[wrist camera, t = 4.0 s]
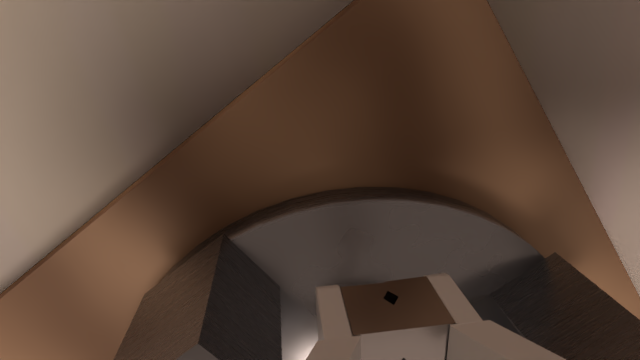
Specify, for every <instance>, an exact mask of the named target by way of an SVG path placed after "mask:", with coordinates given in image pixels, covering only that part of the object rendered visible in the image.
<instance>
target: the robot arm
mask: <svg viewBox="0 0 640 360" xmlns="http://www.w3.org/2000/svg"><path fill="white" fill-rule="evenodd" d="M315 294H316V313H317V330H318V341H317V342H316V344H315V346H314V347H313V349H312V350H311V352H310V354H309V355H308V357H307V358H306V360H566V359H564V358H562V357H560V356H559V355H557V354H555V353H553V352H551V351H549V350H547V349H545V348H543V347H541V346H539V345H537V344H535V343H533V342H531V341H529V340H527V339H526V338H524V337H522V336H520V335H518V334H516V333H514V332H512V331H510V330H508V329H506V328H504V327H502V326H500V325H498V324H496V323H495V322H493V321H491V320H486V321H483V320H482V319H481V317H480V316H479V315H478V313H477V312H476V311H475V309H474V308H473V307H472V305H471V304H470V303H469V301H468V300H467V298H466V297H465V296H464V294H463V293H462V292H461V290H460V289H459V288H458V286H457V285H456V284H455V282H454V281H453V280H452V278H451V277H450V275H448V274H447V273H439V274H432V275H424V276H423V277H414V278H405V279H396V280H387V281H373V282H361V283H350V284H339V285H329V286H319V287H316V291H315Z"/></svg>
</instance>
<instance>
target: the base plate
mask: <svg viewBox="0 0 640 360" xmlns="http://www.w3.org/2000/svg"><path fill="white" fill-rule="evenodd" d="M354 187H399V188H406V189H413V190H420V191H427V192H432V193H435V194H439V195H442V196H446V197H449V198H453V199H456V200H460V201H462V202H465V203H467V204H469V205H471V206H474V207H476V208H478V209H480V210H482V211H485V212H487V213H489V214H490V215H492V216H493V217H495V218H496V219H498V220H499V221H501V222H502V223H504V224H505V225H507V226H509V227H510V228H511V229H513V230H514V231H515V232H516V233H517V234H518V235H520V236H521V237H522V238H523V239H524V240H525V241H527V242H528V243H529V244H530V245H531V246H533V247H534V248H535V249H536V250H537V251H538V252H539V253H540V254H541V255H542V256H543V257H544V258H547V257H548V256H550V255H551V254H553V253H554V252H556V253H557V254H558V255H559V256H561V257H562V258H563V259H564V260H566V261H567V262H568V263H569V264H571V265H572V266H573V267H574V268H576V269H577V270H578V271H579V272H581V273H582V274H583V275H584V276H586V277H587V278H588V279H589V280H591V281H592V282H593V283H594V284H596V285H597V286H598V287H599V288H601V289H602V290H603V291H604V292H606V293H607V294H608V295H609V296H611V297H612V298H613V299H614V300H616V301H617V302H618V303H619V304H621V305H622V306H623V307H624V308H626V309H627V310H628V311H629V312H631V313H632V314H633V315H634V316H636V317H637V318H638V319H639V320H640V297H639V295H638V293H637V291H636V289H635V287H634V285H633V283H632V282H631V280H630V278H629V276H628V274H627V272H626V270H625V268H624V266H623V264H622V262H621V260H620V258H619V256H618V254H617V252H616V250H615V248H614V247H613V245H612V243H611V241H610V239H609V237H608V235H607V233H606V231H605V229H604V227H603V225H602V223H601V221H600V219H599V217H598V215H597V213H596V212H595V210H594V208H593V206H592V204H591V202H590V200H589V198H588V196H587V194H586V192H585V190H584V188H583V186H582V184H581V182H580V180H579V178H578V176H577V175H576V173H575V171H574V169H573V167H572V165H571V163H570V161H569V159H568V157H567V155H566V153H565V151H564V149H563V147H562V145H561V143H560V141H559V140H558V138H557V136H556V134H555V132H554V130H553V128H552V126H551V124H550V122H549V120H548V118H547V116H546V114H545V112H544V110H543V108H542V106H541V105H540V103H539V101H538V99H537V97H536V95H535V93H534V91H533V89H532V87H531V85H530V83H529V81H528V79H527V77H526V75H525V73H524V71H523V70H522V68H521V66H520V64H519V62H518V60H517V58H516V56H515V54H514V52H513V50H512V48H511V46H510V44H509V42H508V40H507V38H506V36H505V35H504V33H503V31H502V29H501V27H500V25H499V23H498V21H497V19H496V17H495V15H494V13H493V11H492V9H491V7H490V5H489V3H488V1H487V0H354V1H353V2H351V3H350V4H349V5H348V6H347V7H345V8H344V9H343V10H342V11H340V12H339V13H338V14H337V15H336V16H334V17H333V18H332V19H331V20H330V21H328V22H327V23H326V24H325V25H324V26H322V27H321V28H320V29H319V30H318V31H316V32H315V33H314V34H313V35H312V36H310V37H309V38H308V39H307V40H306V41H304V42H303V43H302V44H301V45H300V46H298V47H297V48H296V49H295V50H294V51H292V52H291V53H290V54H289V55H288V56H286V57H285V58H284V59H283V60H281V61H280V62H279V63H278V64H277V65H275V66H274V67H273V68H272V69H271V70H269V71H268V72H267V73H266V74H265V75H263V76H262V77H261V78H260V79H259V80H257V81H256V82H255V83H254V84H253V85H251V86H250V87H249V88H248V89H247V90H245V91H244V92H243V93H242V94H241V95H239V96H238V97H237V98H236V99H235V100H233V101H232V102H231V103H230V104H229V105H227V106H226V107H225V108H224V109H222V110H221V111H220V112H219V113H218V114H216V115H215V116H214V117H213V118H212V119H210V120H209V121H208V122H207V123H206V124H204V125H203V126H202V127H201V128H200V129H198V130H197V131H196V132H195V133H194V134H192V135H191V136H190V137H189V138H188V139H186V140H185V141H184V142H183V143H182V144H180V145H179V146H178V147H177V148H176V149H174V150H173V151H172V152H171V153H170V154H168V155H167V156H166V157H165V158H163V159H162V160H161V161H160V162H159V163H157V164H156V165H155V166H154V167H153V168H151V169H150V170H149V171H148V172H147V173H145V174H144V175H143V176H142V177H141V178H139V179H138V180H137V181H136V182H135V183H133V184H132V185H131V186H130V187H129V188H127V189H126V190H125V191H124V192H123V193H121V194H120V195H119V196H118V197H117V198H115V199H114V200H113V201H112V202H111V203H109V204H108V205H107V206H106V207H105V208H103V209H102V210H101V211H100V212H98V213H97V214H96V215H95V216H94V217H92V218H91V219H90V220H89V221H88V222H86V223H85V224H84V225H83V226H82V227H80V228H79V229H78V230H77V231H76V232H74V233H73V234H72V235H71V236H70V237H68V238H67V239H66V240H65V241H64V242H62V243H61V244H60V245H59V246H58V247H56V248H55V249H54V250H53V251H52V252H50V253H49V254H48V255H47V256H46V257H44V258H43V259H42V260H41V261H39V262H38V263H37V264H36V265H35V266H33V267H32V268H31V269H30V270H29V271H27V272H26V273H25V274H24V275H23V276H21V277H20V278H19V279H18V280H17V281H15V282H14V283H13V284H12V285H11V286H9V287H8V288H7V289H6V290H5V291H3V292H2V293H1V294H0V360H113V359H114V357H115V355H116V353H117V351H118V349H119V347H120V345H121V343H122V340H123V338H124V336H125V334H126V332H127V330H128V328H129V326H130V324H131V322H132V319H133V317H134V315H135V313H136V311H137V309H138V307H139V305H140V303H141V300H142V298H143V296H144V294H145V293H147V292H148V291H149V290H150V289H152V288H153V287H154V286H156V285H157V284H158V283H160V281H161V280H162V279H163V278H164V277H165V275H166V274H167V273H168V272H169V271H170V270H171V268H172V267H173V266H175V265H176V264H177V263H178V262H179V261H180V260H181V259H182V258H184V257H185V256H186V255H187V254H188V253H189V252H190V251H192V250H193V249H194V248H195V247H196V246H197V245H199V244H200V243H202V242H203V241H205V240H206V239H208V238H209V237H211V236H212V235H214V234H215V233H217V232H218V231H220V230H221V229H223V228H224V227H226V226H228V225H230V224H232V223H234V222H236V221H238V220H240V219H242V218H244V217H246V216H248V215H250V214H252V213H254V212H256V211H258V210H261V209H264V208H266V207H269V206H272V205H275V204H277V203H280V202H283V201H286V200H289V199H292V198H296V197H300V196H305V195H309V194H313V193H318V192H322V191H326V190H336V189H345V188H354Z"/></svg>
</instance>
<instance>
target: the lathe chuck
mask: <svg viewBox="0 0 640 360" xmlns="http://www.w3.org/2000/svg"><path fill="white" fill-rule="evenodd" d="M439 273H447V274H448V275H450V277H451V278H452V280H453V281H454V282H455V284H456V285H457V286H458V288H459V289H460V290H461V292H462V293H463V294H464V296H465V297H466V298H467V300H468V301H469V303H470V304H471V305H472V307H473V308H474V309H475V311H476V312H477V313H478V315H479V316H480V317H481V319H482V320H483V321H486V320H491V321H493V322H495V323H496V324H498V325H500V326H502V327H504V328H506V329H508V330H510V331H512V332H514V333H516V334H518V335H520V336H522V337H524V338H526V339H527V340H529V341H531V342H533V343H535V344H537V345H539V346H541V347H543V348H545V349H547V350H549V351H551V352H553V353H555V354H557V355H559V356H560V357H562V358H564V359H566V360H640V320H639V319H638V318H637V317H636V316H634V315H633V314H632V313H631V312H629V311H628V310H627V309H626V308H624V307H623V306H622V305H621V304H619V303H618V302H617V301H616V300H614V299H613V298H612V297H611V296H609V295H608V294H607V293H606V292H604V291H603V290H602V289H601V288H599V287H598V286H597V285H596V284H594V283H593V282H592V281H591V280H589V279H588V278H587V277H586V276H584V275H583V274H582V273H581V272H579V271H578V270H577V269H576V268H574V267H573V266H572V265H571V264H569V263H568V262H567V261H566V260H564V259H563V258H562V257H561V256H559V255H558V254H557V253H556V252H554V253H553V254H551V255H550V256H548V257H547V258H544V257H543V256H542V255H541V254H540V253H539V252H538V251H537V250H536V249H535V248H534V247H533V246H531V245H530V244H529V243H528V242H527V241H525V240H524V239H523V238H522V237H521V236H520V235H518V234H517V233H516V232H515V231H514V230H513V229H511V228H510V227H509V226H507V225H505V224H504V223H502V222H501V221H499V220H498V219H496V218H495V217H493V216H492V215H490V214H489V213H487V212H485V211H482V210H480V209H478V208H476V207H474V206H471V205H469V204H467V203H465V202H462V201H460V200H456V199H453V198H449V197H446V196H442V195H439V194H435V193H432V192H427V191H420V190H413V189H406V188H399V187H354V188H345V189H336V190H326V191H322V192H318V193H313V194H309V195H305V196H300V197H296V198H292V199H289V200H286V201H283V202H280V203H277V204H275V205H272V206H269V207H266V208H264V209H261V210H258V211H256V212H254V213H252V214H250V215H248V216H246V217H244V218H242V219H240V220H238V221H236V222H234V223H232V224H230V225H228V226H226V227H224V228H223V229H221V230H220V231H218V232H217V233H215V234H214V235H212V236H211V237H209V238H208V239H206V240H205V241H203V242H202V243H200V244H199V245H197V246H196V247H195V248H194V249H193V250H192V251H190V252H189V253H188V254H187V255H186V256H185V257H184V258H182V259H181V260H180V261H179V262H178V263H177V264H176V265H175V266H173V267H172V268H171V270H170V271H169V272H168V273H167V274H166V275H165V277H164V278H163V279H162V280H161V281H160V283H158V284H157V285H156V286H154V287H153V288H152V289H150V290H149V291H148V292H147V293H145V294H144V296H143V298H142V300H141V303H140V305H139V307H138V309H137V311H136V313H135V315H134V317H133V319H132V322H131V324H130V326H129V328H128V330H127V332H126V334H125V336H124V338H123V340H122V343H121V345H120V347H119V349H118V351H117V353H116V355H115V357H114V359H113V360H306V358H307V357H308V355H309V354H310V352H311V350H312V349H313V347H314V346H315V344H316V342H317V341H318V330H317V313H316V294H315V291H316V287H319V286H329V285H339V284H350V283H361V282H373V281H387V280H396V279H405V278H414V277H423V276H424V275H432V274H439Z"/></svg>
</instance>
